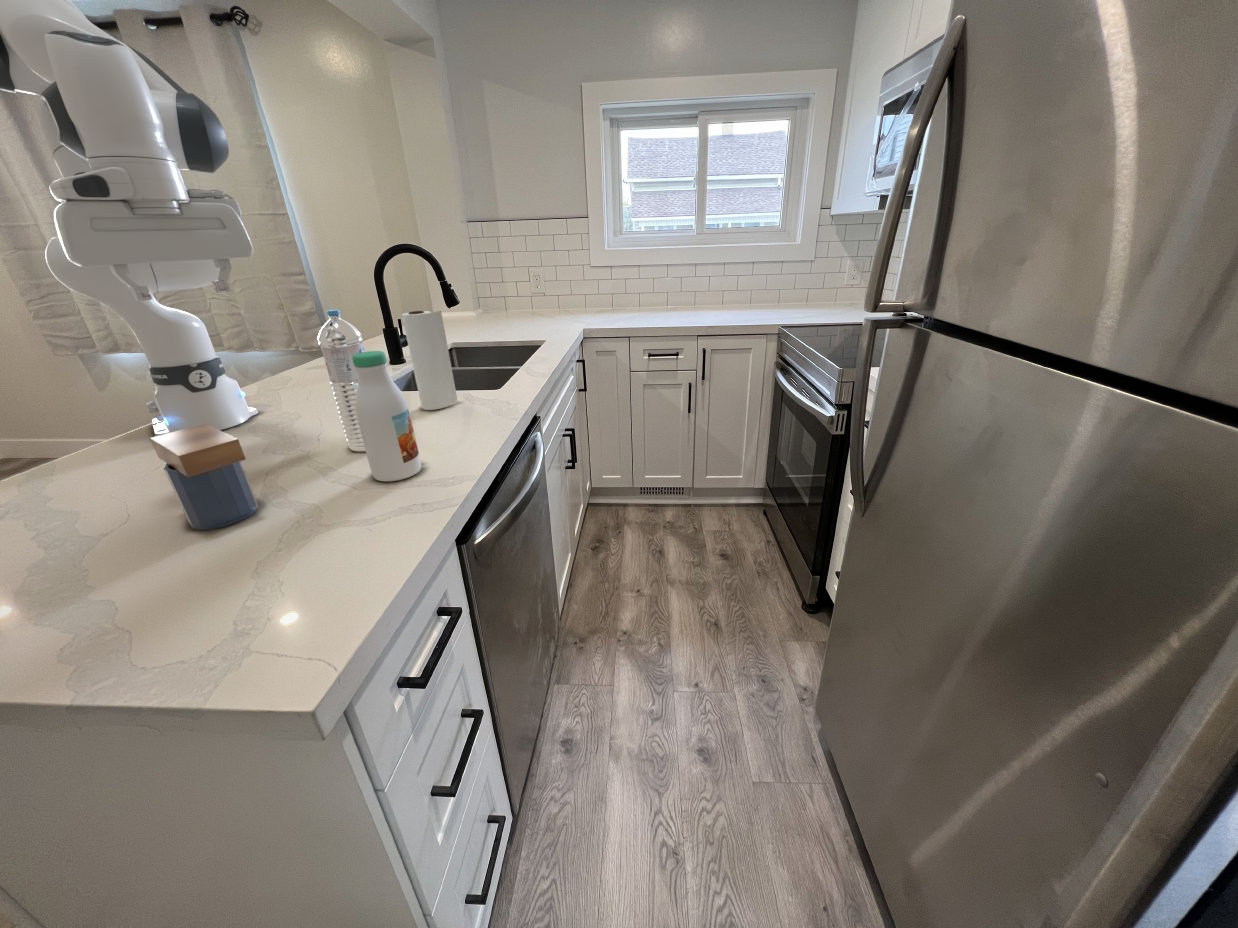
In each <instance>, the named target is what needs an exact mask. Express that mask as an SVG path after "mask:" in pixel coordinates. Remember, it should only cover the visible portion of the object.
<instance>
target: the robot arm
mask: <svg viewBox="0 0 1238 928" xmlns="http://www.w3.org/2000/svg"><path fill="white" fill-rule="evenodd" d="M0 90H1V91H4V92H9V93H13V94H16V93H17V92H19V93H26V94H29V95H37V96H40V97H39V99H38V101H37V104H36V109H37V110H36V111H37V115H38V120H39V123H40V127H41V131H42V134H43V136H44V139H45V142H46V145H47V147H48V150H49V151H50V154H51V156H52V158H53V160H54V162H55V164H56V166H57V169H58V170H59V172H60V175H61V176H62V178H58V179H56V180H53V181H52V182H50V184H49V187H48V188H49V190H50V191H49V192H50V194H51V195H52V197H53V198H54V199H55V201H57V202H59V203H60V204H58V205H57V206H56V207H55V209H54V211H53V220H54V226H55V229H56V233H57V236H54V237H52V238H51V239H50V240H49V241H48V243H47V245H46V248H45V252H44V253H45V254H44V255H45V261H46V264H47V265H46V266H47V267H48V269H49V271H50V272H51V273H52V275H53V276H54V277H55V279H57V280H58V281H59V283H61V284H62V285H64V286H65V287H66V288H67V289H69V290H71V291H73V292H75V293H77V294H79V295H82V296H85V297H87V298H89V299H91V300H94V301H95V302H98V303H100V304H101V305H103V306H104V307H106V308H108V309H109V310H110V311H112V312H113V313H115V314H116V315H117V316H118V317H120V319H121V320H122V321H123V322H125V324H126V325H127V326H128V327H129V329H130V330H131V331H132V333H133V335H134V336H135V338H136V339H137V342H138V344H139V345H140V347H141V349H142V351H143V354H144V355H145V358H146V360H147V362H148V364H149V366H148V371H149V375H150V378H151V379H152V382H153V383H154V384H155V390H154V396H153V400H151V401H149V402H147V403H146V406H147V408H148V410H149V412H150V413H149V414H156V413H159V414H156V415H155V416H156V417H155V418H152V420H151V424H152V427H153V431H154V436H155V437H156V436H159V435H163V434H167V433H171V432H175V431H179V430H183V429H187V428H191V427H195V426H199V425H203V424H207V425H209V426H211V427H213V428H215V429H218V430H220V431H223V430H226V429H229V428H233V427H235V426H238V425H240V424H242V423H244V422H246V421H248V420H249V419H250V418H251V417H253V416H255V415H257V414H259V411H258V409H257V408H256V407H249V405H248V403H247V401H246V399H245V397H246V393H245V392H244V391H242V390H241V387H240V385H239V383H238V381H237V380H235V379H234V378H231V377H229V376H228V375H226V374H225V373H226V369H225V367H224V363H223V361H222V360H221V358H220V356H218V355H217V353H216V350H215V348H214V345H213V342H212V340H211V337H210V335H209V332H208V329H207V327H206V325H205V323H204V322H203V321H202V320H201V319H200V318H199V317H197V316H196V315H194V314H192V313H189V312H187V311H184V310H180V309H177V308H173V307H169V306H164V305H162V304H161V303H159V302H158V301H157V300H156V298H155V296H154V294H155V293H158V292H170V291H182V290H195V289H201V288H205V287H208V286H213V287H214V288H213V289H214V291H215V293H216V294H227V293H229V294H230V293H232V289H231V287H230V284H229V278H230V275H231V272H232V269H233V267H232V264H231V261H230V260H233V259H234V260H235V259H237V260H238V259H250V258H252V256H253V255H254V254H253V253H254V252H255V251H254V246H253V244H252V241H251V238H250V236H249V234H248V231H247V229H246V227H245V225H244V223H243V221H242V219H243V216H242V212H241V208H240V205H239V203H238V202H237V200H236V199H235V198H234V197H233V196H231V195H229V194H227V193H225V192H224V191H223V190H219V189H211V190H205V189H200V188H199V189H198V188H187V187H186V185H185V182H184V179H183V177H182V174H181V171H182V170H183V171H184V170H185V171H190V172H196V173H197V172H198V173H204V174H205V173H206V174H214V173H215V172H218V171H219V169H220V168H221V167H223V165H224V164H225V163H226V161H227V160H228V158H229V156H230V155H229V154H230V149H229V142H228V139H227V134H226V133H225V130H224V127H223V125H222V122H221V120H220V119H219V117H218V116H217V114H216V113H215V111H214V110H213V109H212V108H211V107H210V106H209V105H208V104H207V103H206V102H205V101H204V100H202V99H201V98H199V97H198V96H197V95H196V94H194V93H192V92H187V91H186V90H185V89H183V88H182V87H181V86H180V84H178V83H177V82H176V81H175V80H173V79H172V77H170V76H169V75H168V74H167V73H165V72H164V70H162V69H161V68H160V67H159V66H158V65H156V63H154V62H153V61H152V60H151V59H150V58H149V57H148V56H146V55H145V54H143V53H142V52H140V51H139V50H137V49H136V48H134V47H132V46H130V45H128V44H125V43H124V42H122V41H121V40H120V39H119V38H118V37H117V36H116V35H115V34H113V33H111V32H109V31H107V30H105V29H102V28H100V27H98V26H97V25H95V24H94V23H92V22H91V21H90V19H88V18H87V17H86V15H85V14H84V12H82V11H81V10H80V9H79V8H78V6H77V5H76V4H75V3H74V2H73V1H72V0H0ZM180 170H181V171H180ZM161 421H163V422H161ZM158 422H161V423H158ZM155 423H157V424H156V425H153V424H155Z"/></svg>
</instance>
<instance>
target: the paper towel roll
mask: <svg viewBox="0 0 1238 928" xmlns="http://www.w3.org/2000/svg"><path fill="white" fill-rule="evenodd" d="M401 318H402V322H403V327H404V332H405V336H406V342H407V346H408V351H409V355H410V360H411V364H412V370H413V374H414V377H415V384H416V388H417V392H418V396H419V401H420V405H421V409H422V410H424V411H425V410H426V411H435V410H441V409H444V408H447V407H451V405H453V404H457V403H458V402H459V400H458V396H457V391H456V385H455V379H454V373H453V368H452V363H451V357H450V351H449V346H448V342H447V336H446V329H445V325H444V324H445V323H444V319H443V313H442V311H441V310H436V311H430V310H415V311H408V312H404V313H401Z"/></svg>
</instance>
